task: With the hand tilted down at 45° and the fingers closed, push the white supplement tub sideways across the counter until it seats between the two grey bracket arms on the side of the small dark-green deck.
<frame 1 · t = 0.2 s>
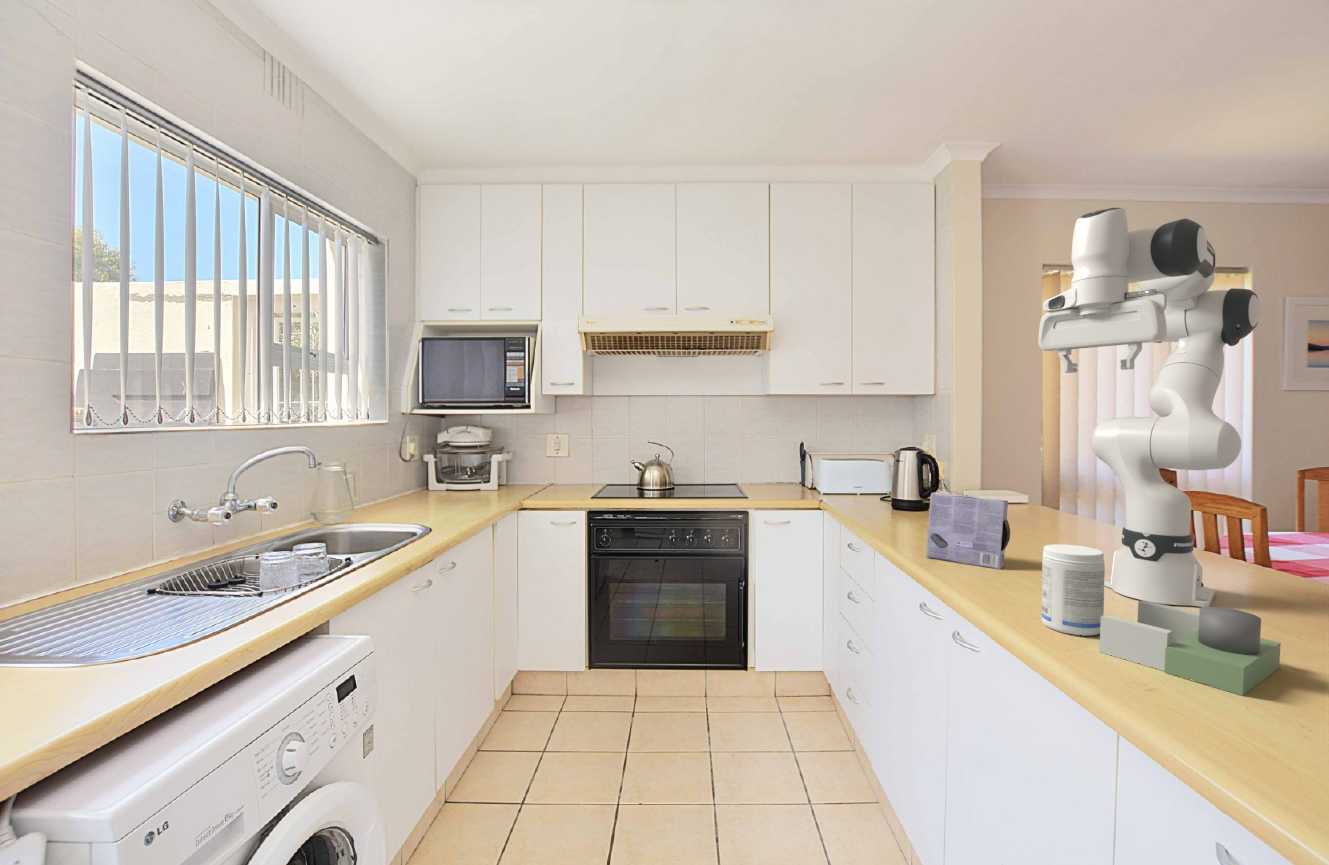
hand: (1098, 371, 116), 48 cm above the counter, tool pointing down, fingers open, 8 cm apart
supplement tub: (1070, 629, 114), on the counter
cake pan box: (966, 563, 163), on the counter
deck: (1186, 660, 100), on the counter
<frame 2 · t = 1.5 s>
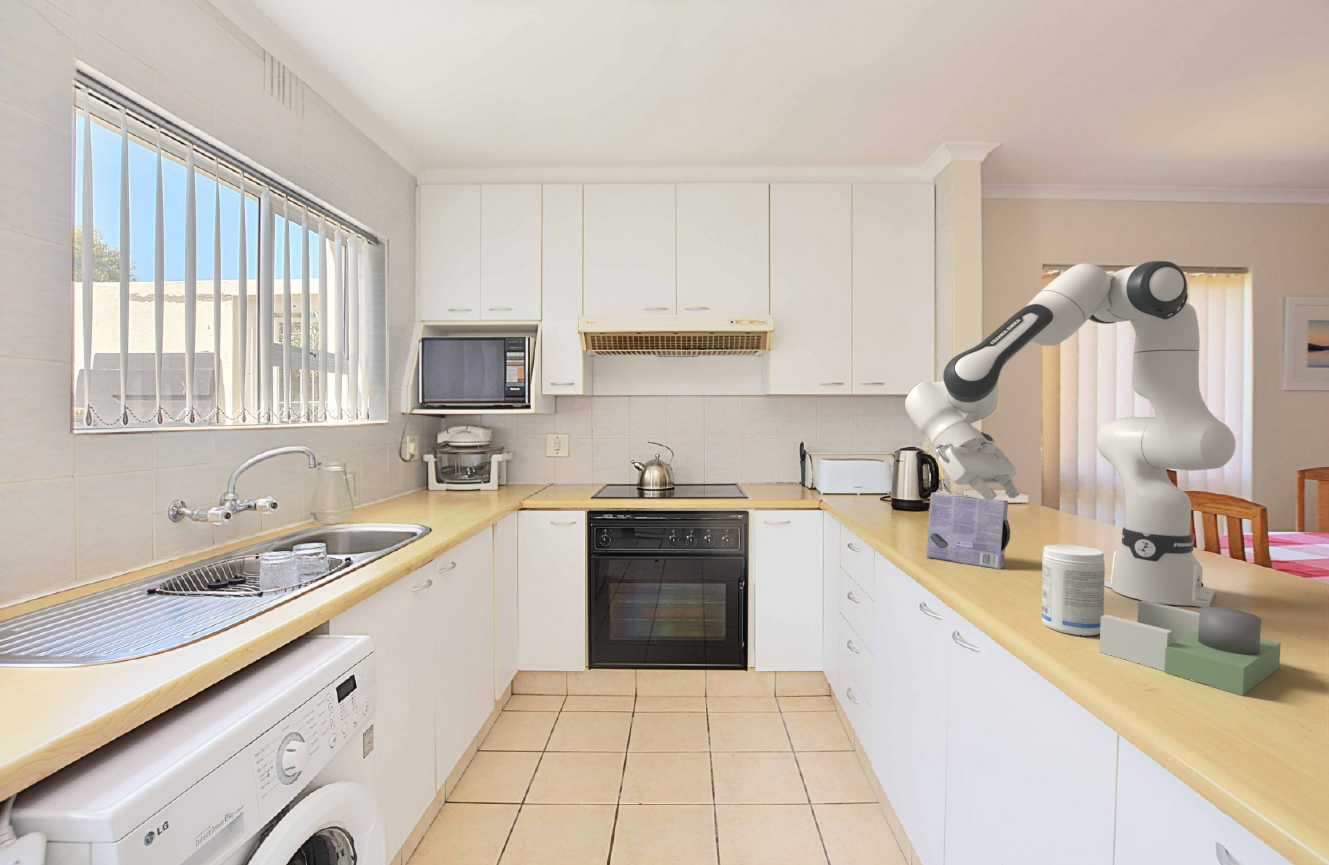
hand: (1004, 497, 124), 23 cm above the counter, tool tilted 45°, fingers open, 8 cm apart
nothing on the counter moved.
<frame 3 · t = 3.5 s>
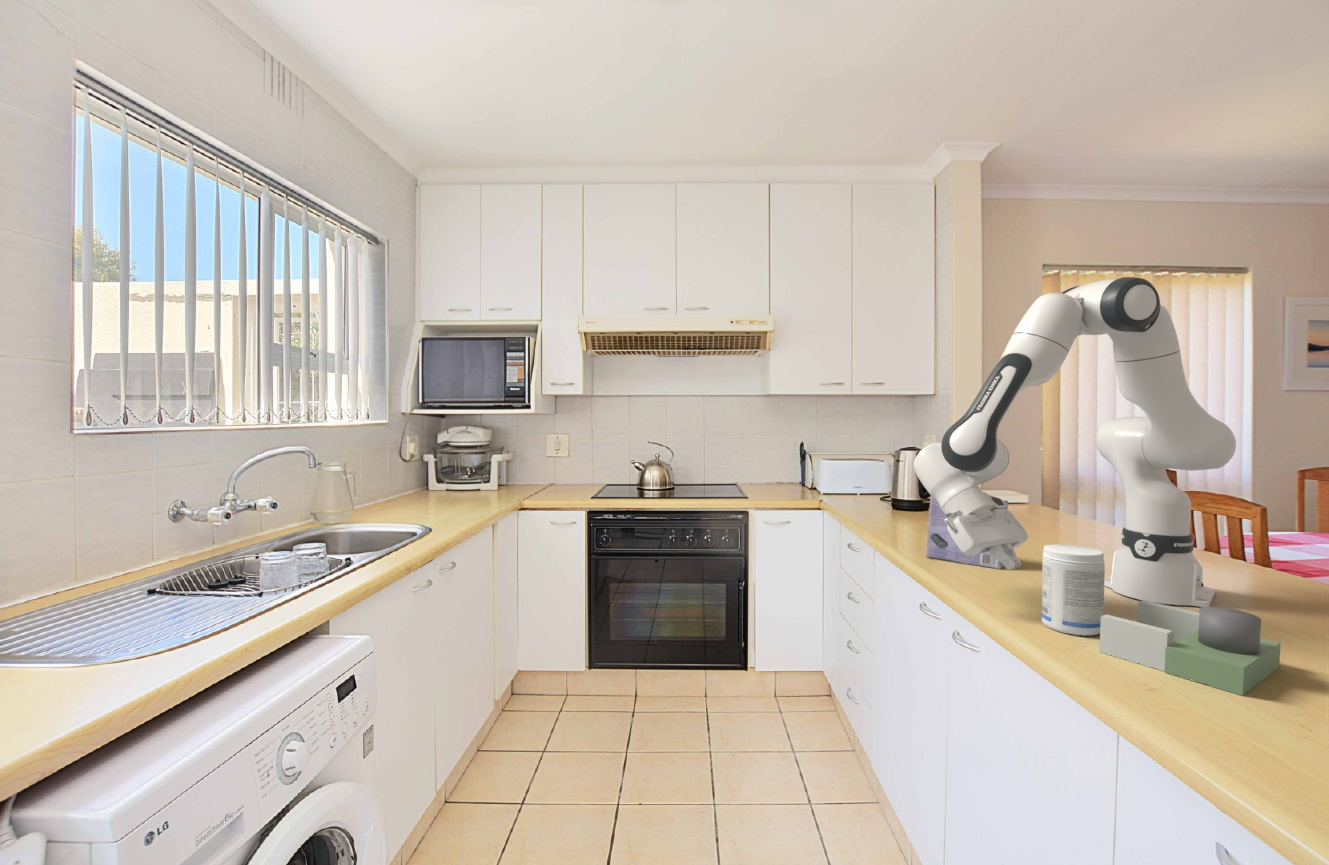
hand: (1015, 567, 122), 9 cm above the counter, tool tilted 45°, fingers closed
nothing on the counter moved.
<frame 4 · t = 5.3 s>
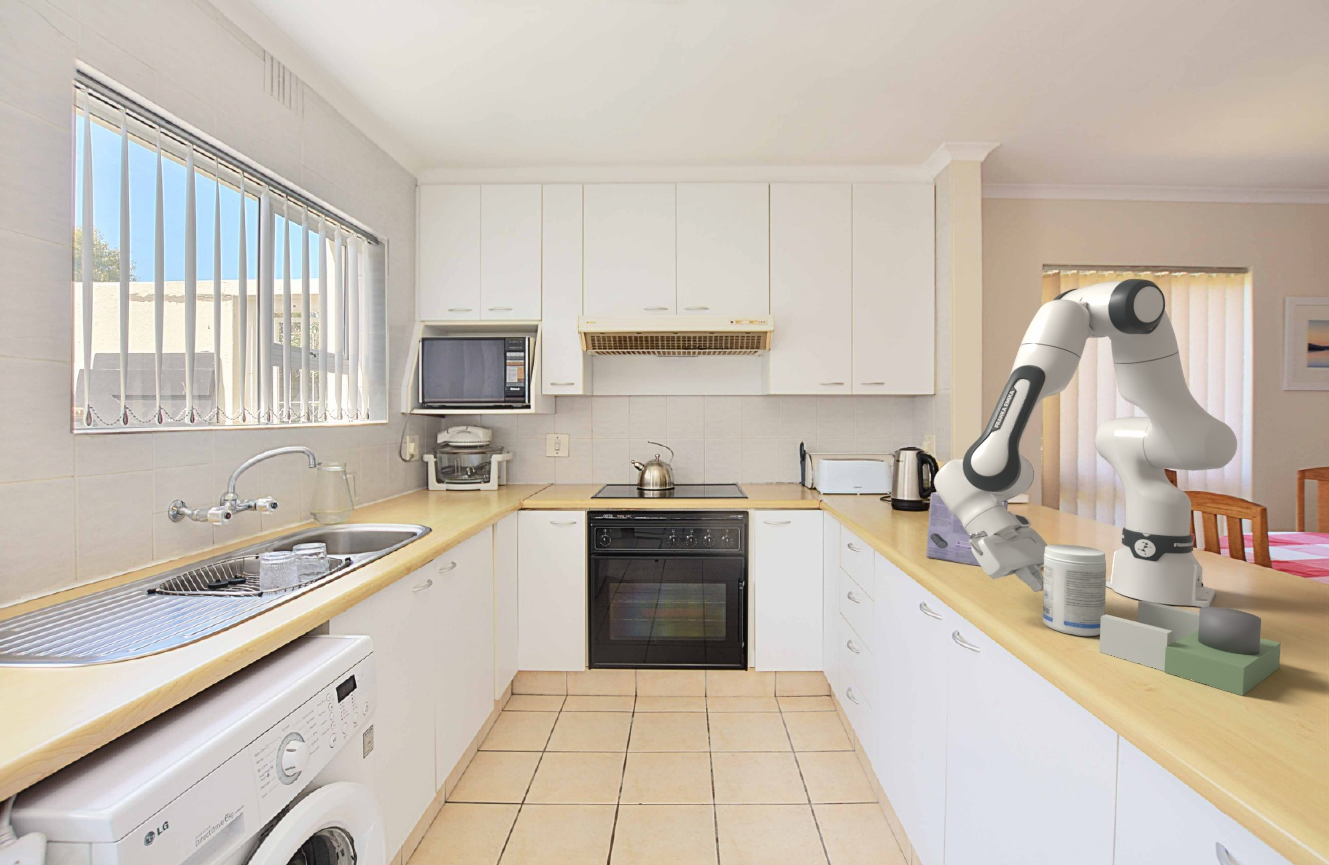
hand: (1042, 589, 118), 6 cm above the counter, tool tilted 45°, fingers closed, pressing on supplement tub
supplement tub: (1072, 629, 114), on the counter, touching gripper
everything else where it was.
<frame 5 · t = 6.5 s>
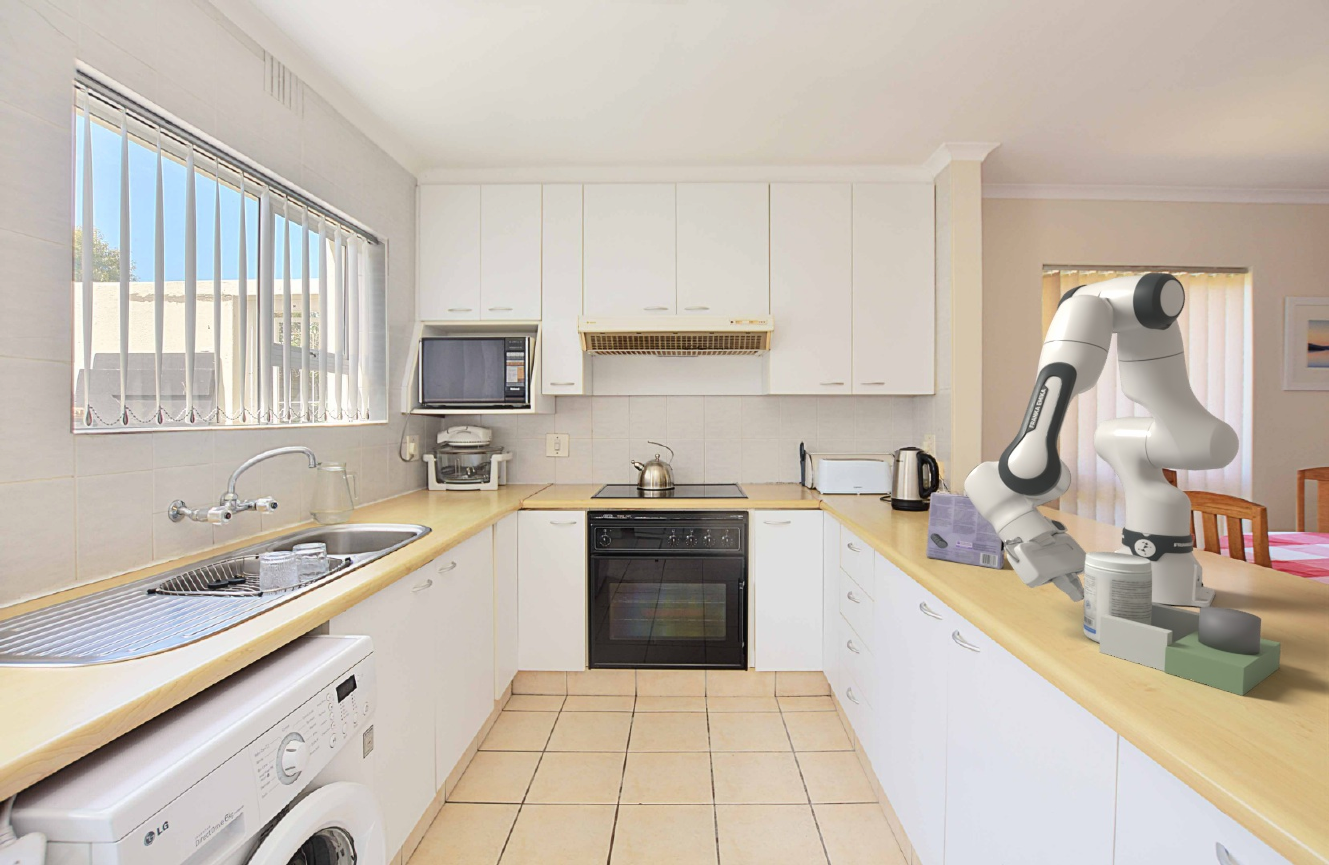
hand: (1082, 599, 112), 6 cm above the counter, tool tilted 45°, fingers closed, pressing on supplement tub
supplement tub: (1115, 641, 108), on the counter, touching gripper
everything else where it was.
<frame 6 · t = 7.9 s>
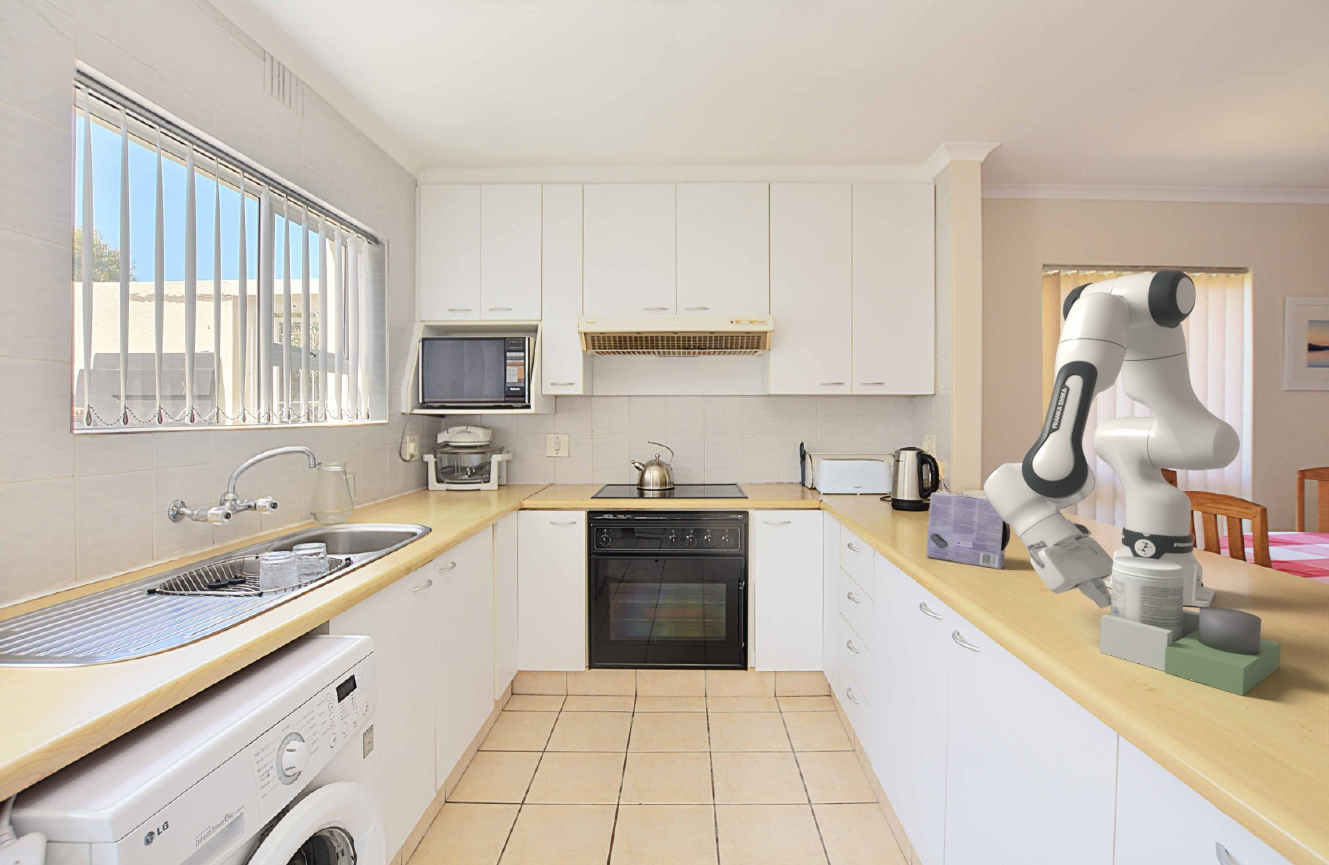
hand: (1108, 605, 109), 6 cm above the counter, tool tilted 45°, fingers closed, pressing on supplement tub
supplement tub: (1143, 649, 105), on the counter, touching gripper
everything else where it was.
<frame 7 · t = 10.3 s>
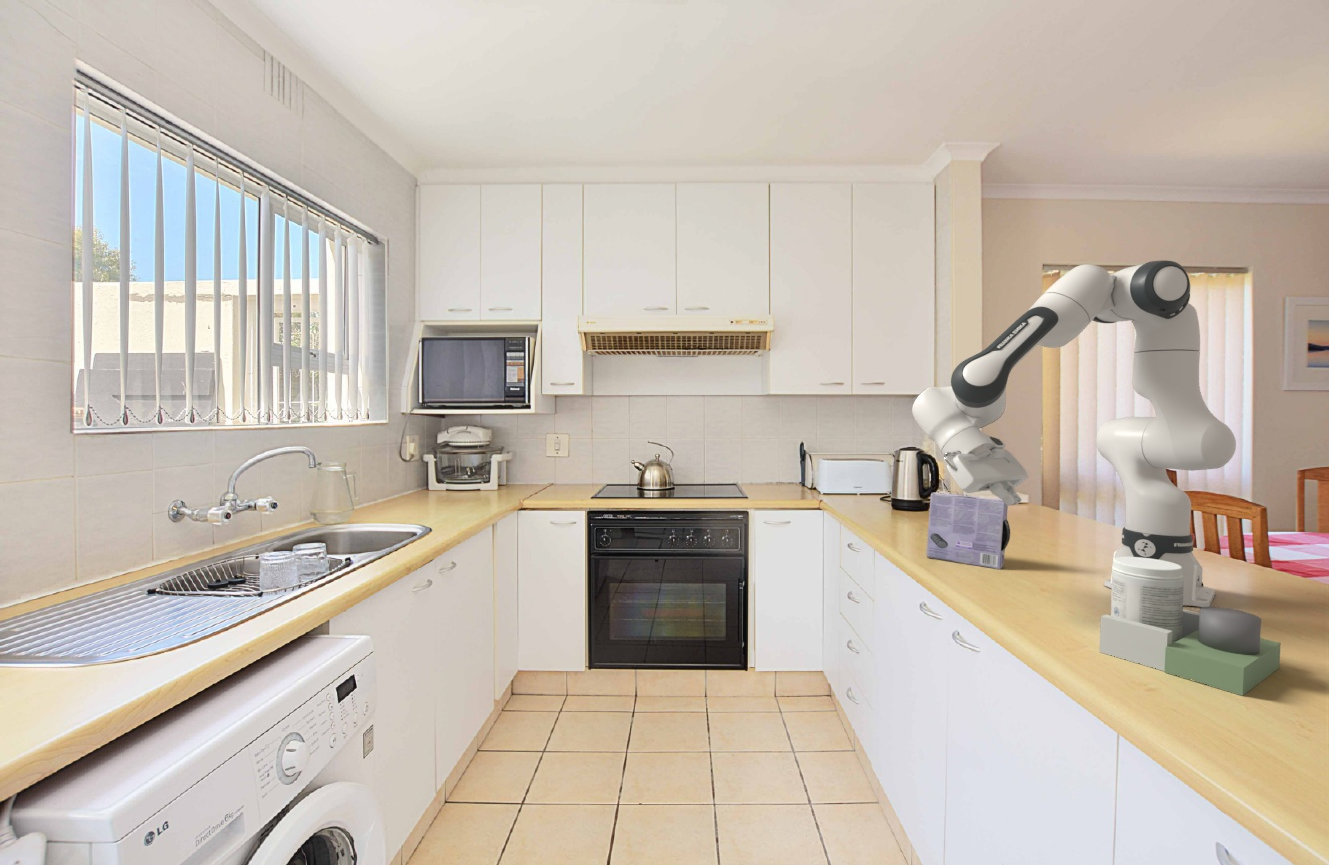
hand: (1015, 503, 122), 22 cm above the counter, tool tilted 45°, fingers closed
supplement tub: (1144, 649, 105), on the counter
everything else where it was.
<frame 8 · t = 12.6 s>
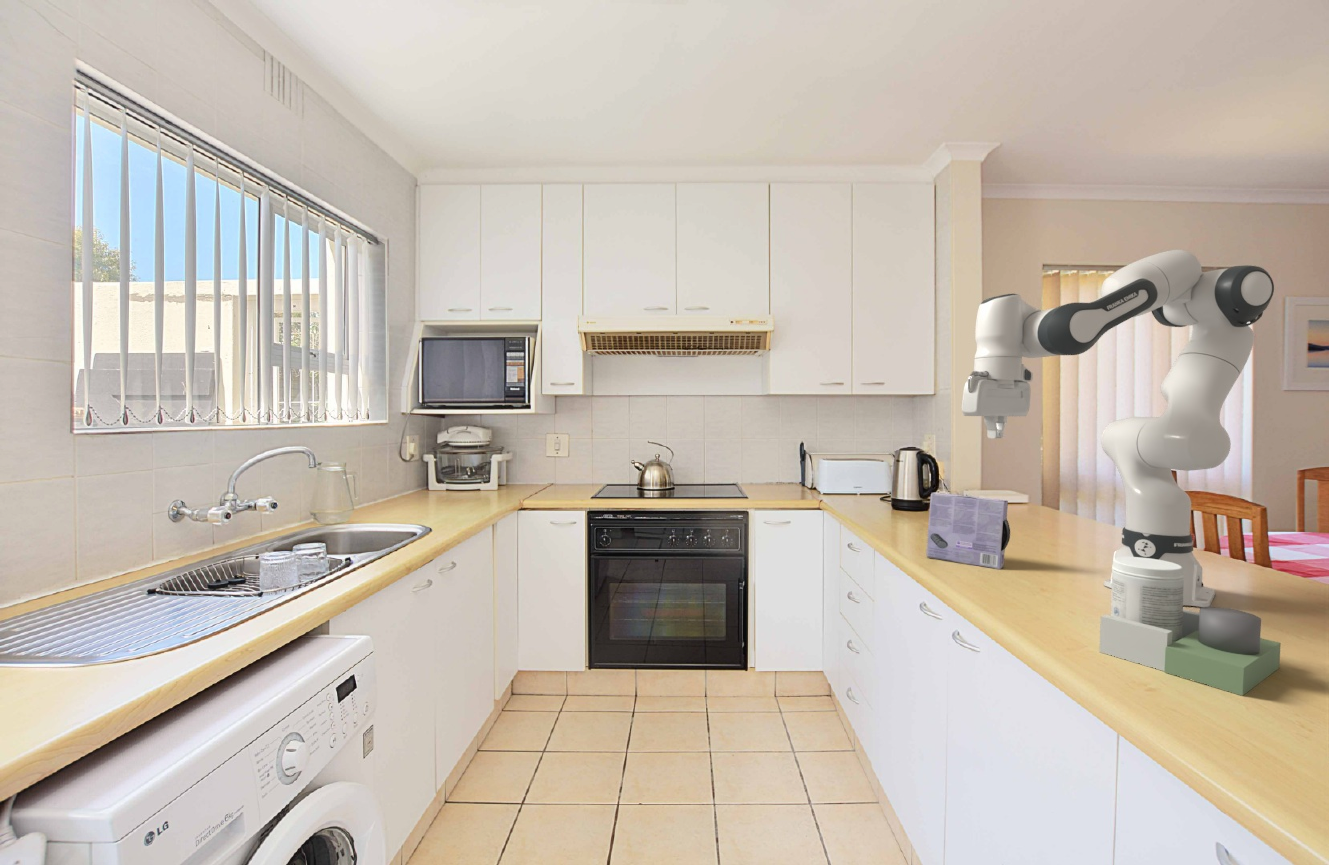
hand: (995, 438, 130), 34 cm above the counter, tool pointing down, fingers closed
nothing on the counter moved.
at the end: supplement tub inside the target area (0.2 cm from its centre), on the counter; supplement tub tilted 0° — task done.
